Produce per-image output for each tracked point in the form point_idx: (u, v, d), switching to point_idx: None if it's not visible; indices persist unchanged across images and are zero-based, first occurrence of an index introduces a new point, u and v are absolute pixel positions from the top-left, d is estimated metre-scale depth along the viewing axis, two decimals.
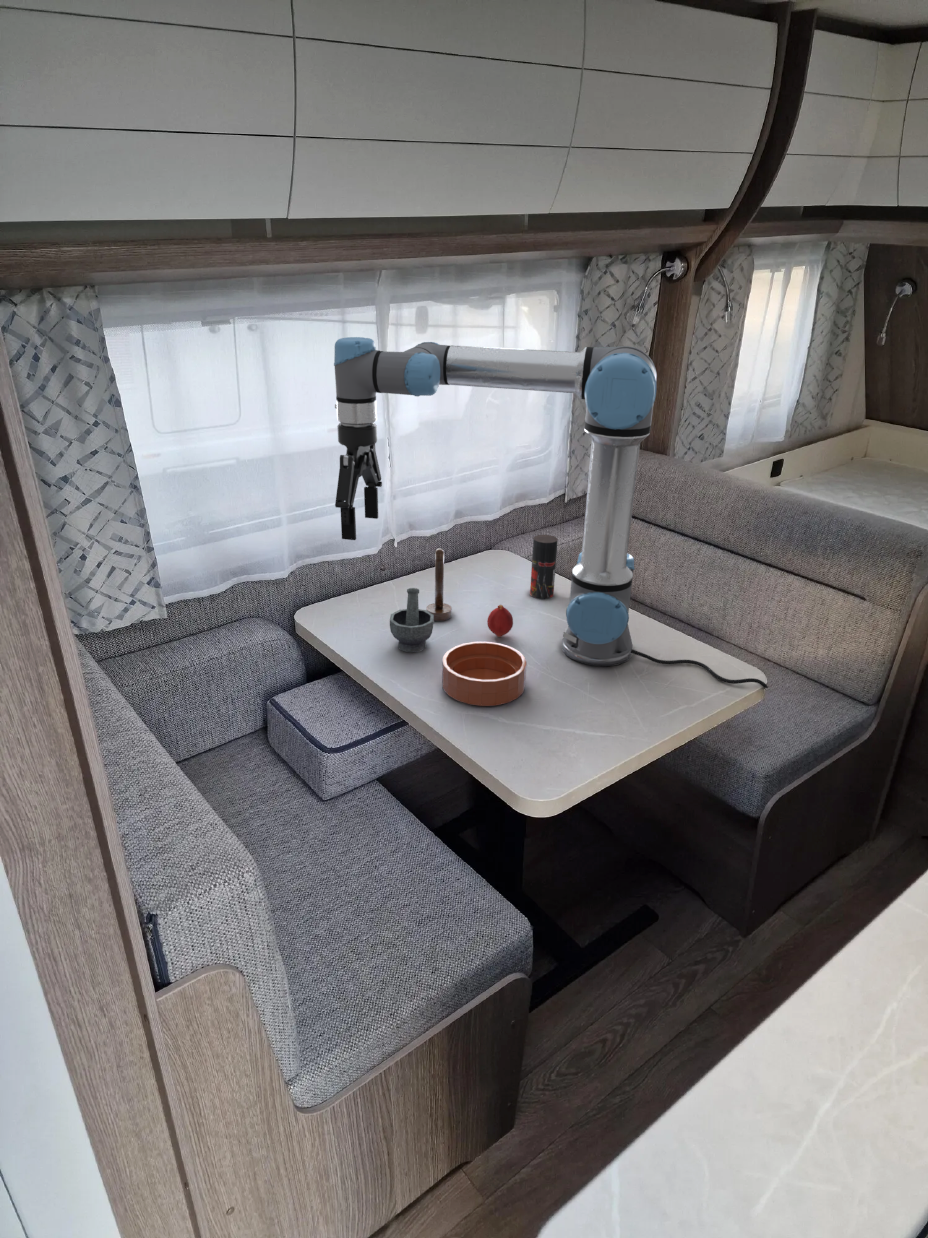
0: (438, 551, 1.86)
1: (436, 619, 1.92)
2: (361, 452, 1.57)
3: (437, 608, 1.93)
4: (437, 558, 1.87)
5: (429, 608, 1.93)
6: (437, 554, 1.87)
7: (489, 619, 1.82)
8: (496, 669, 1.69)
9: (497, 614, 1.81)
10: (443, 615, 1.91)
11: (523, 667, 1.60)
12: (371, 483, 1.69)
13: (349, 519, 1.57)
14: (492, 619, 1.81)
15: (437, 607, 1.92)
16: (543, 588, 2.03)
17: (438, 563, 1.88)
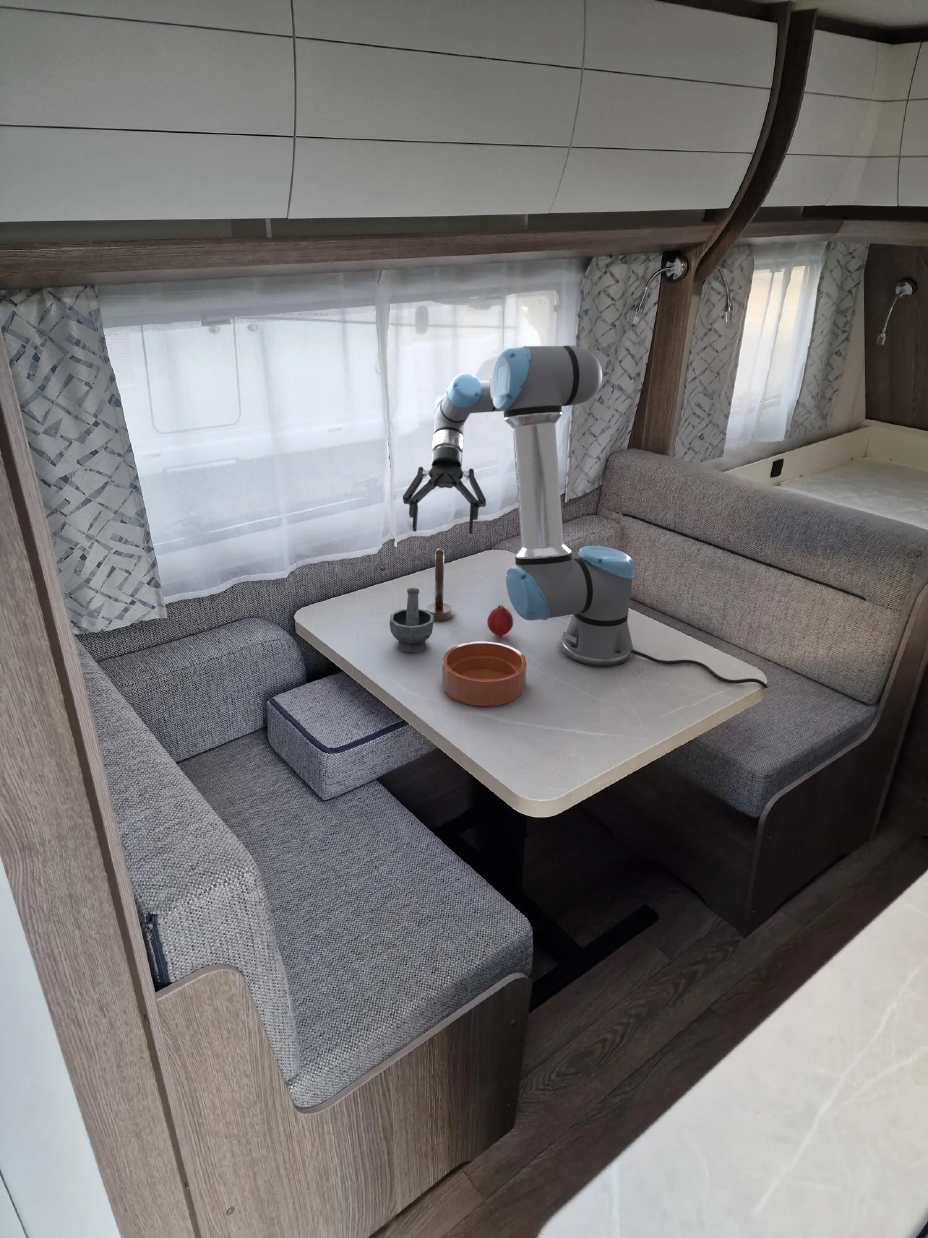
0: (438, 551, 1.86)
1: (436, 619, 1.92)
2: (440, 469, 2.00)
3: (437, 608, 1.93)
4: (437, 558, 1.87)
5: (429, 608, 1.93)
6: (437, 554, 1.87)
7: (489, 619, 1.82)
8: (496, 669, 1.69)
9: (497, 614, 1.81)
10: (443, 615, 1.91)
11: (523, 667, 1.60)
12: None
13: (410, 511, 1.97)
14: (492, 619, 1.81)
15: (437, 607, 1.92)
16: None
17: (438, 563, 1.88)
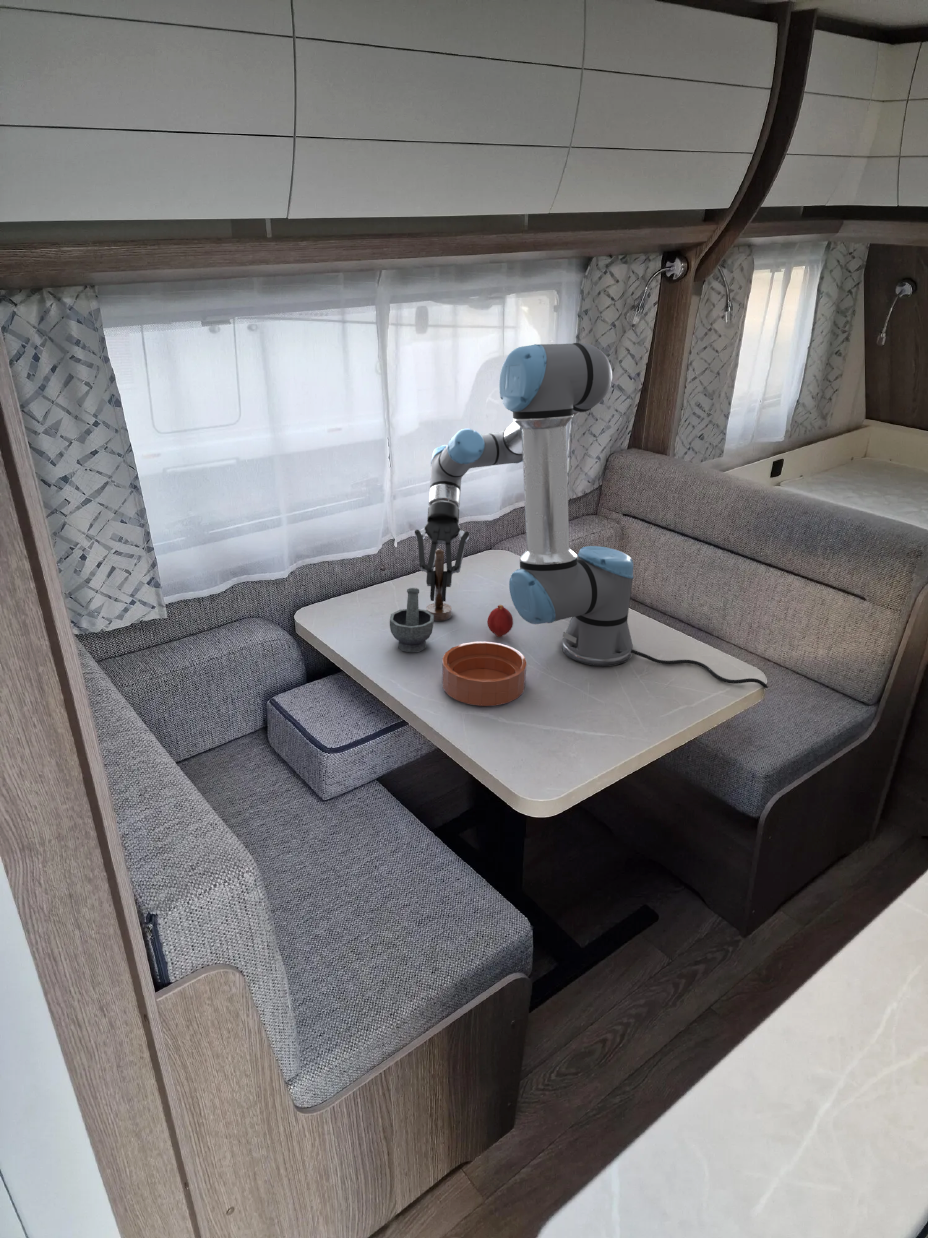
0: (438, 551, 1.86)
1: (436, 619, 1.92)
2: (437, 525, 1.93)
3: (437, 608, 1.93)
4: (437, 558, 1.87)
5: (429, 608, 1.93)
6: (437, 554, 1.87)
7: (489, 619, 1.82)
8: (496, 669, 1.69)
9: (497, 614, 1.81)
10: (443, 615, 1.91)
11: (523, 667, 1.60)
12: None
13: (428, 579, 1.89)
14: (492, 619, 1.81)
15: (437, 607, 1.92)
16: None
17: (438, 563, 1.88)
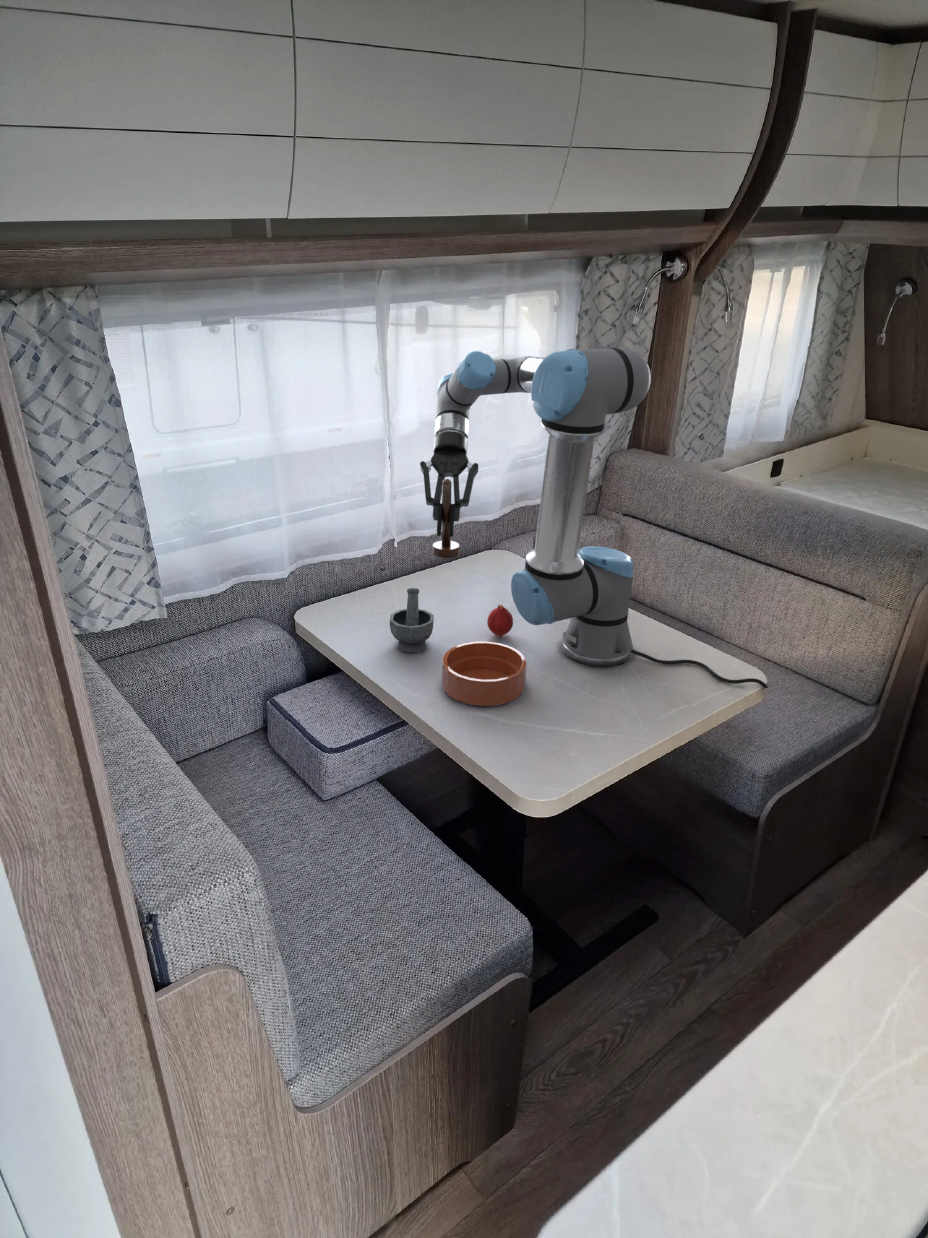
0: (445, 481, 1.74)
1: (443, 556, 1.79)
2: (443, 456, 1.81)
3: (444, 545, 1.80)
4: (444, 489, 1.75)
5: (436, 545, 1.81)
6: (445, 485, 1.74)
7: (489, 619, 1.82)
8: (496, 669, 1.69)
9: (497, 614, 1.81)
10: (451, 552, 1.79)
11: (523, 667, 1.60)
12: None
13: (434, 513, 1.77)
14: (492, 619, 1.81)
15: (444, 544, 1.80)
16: None
17: (445, 494, 1.75)
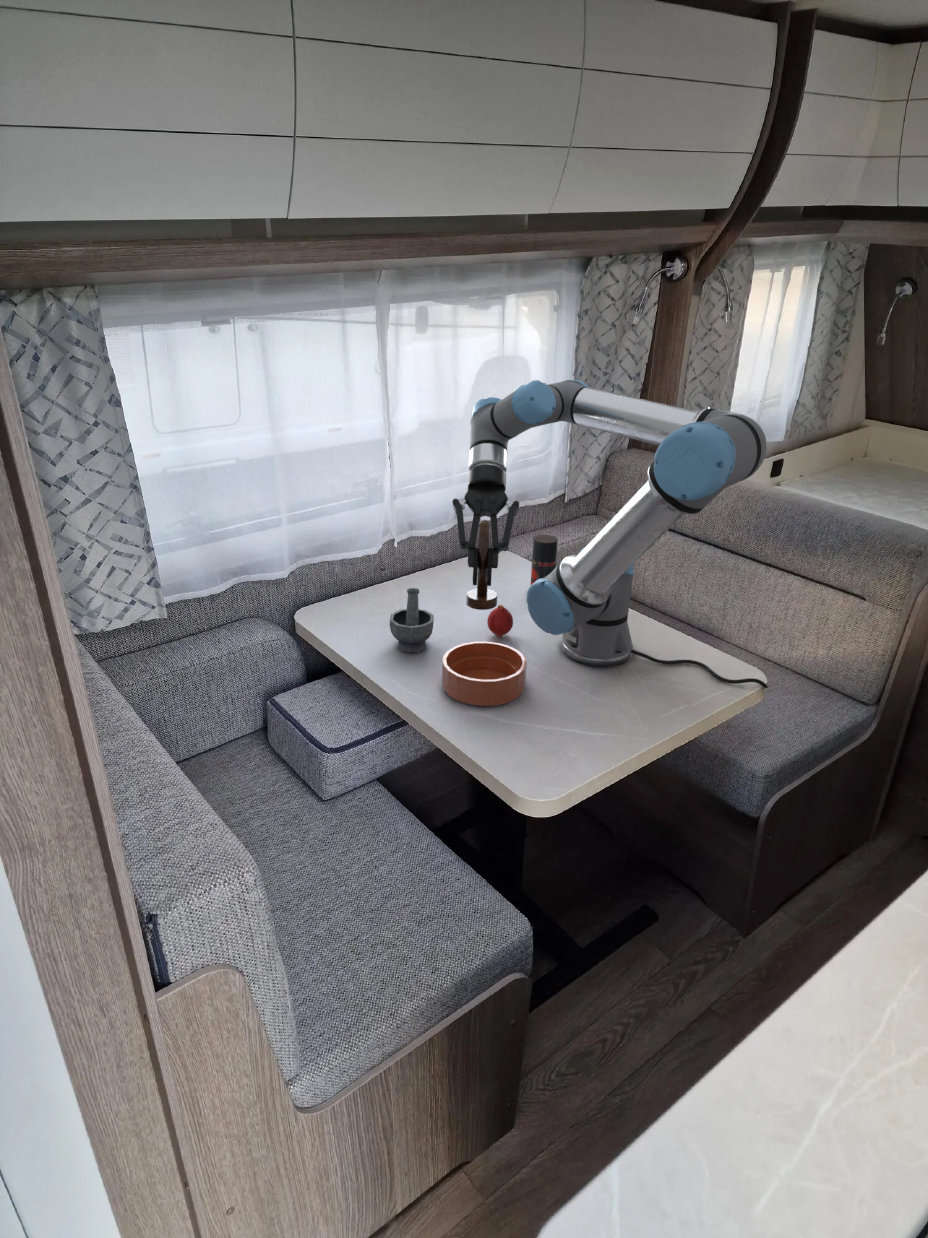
0: (483, 524, 1.52)
1: (479, 608, 1.57)
2: (479, 493, 1.58)
3: (480, 594, 1.58)
4: (481, 532, 1.52)
5: (470, 595, 1.58)
6: (482, 527, 1.52)
7: (489, 619, 1.82)
8: (496, 669, 1.69)
9: (497, 614, 1.81)
10: (488, 603, 1.56)
11: (523, 667, 1.60)
12: None
13: (469, 559, 1.54)
14: (492, 619, 1.81)
15: (480, 593, 1.58)
16: None
17: (482, 538, 1.53)
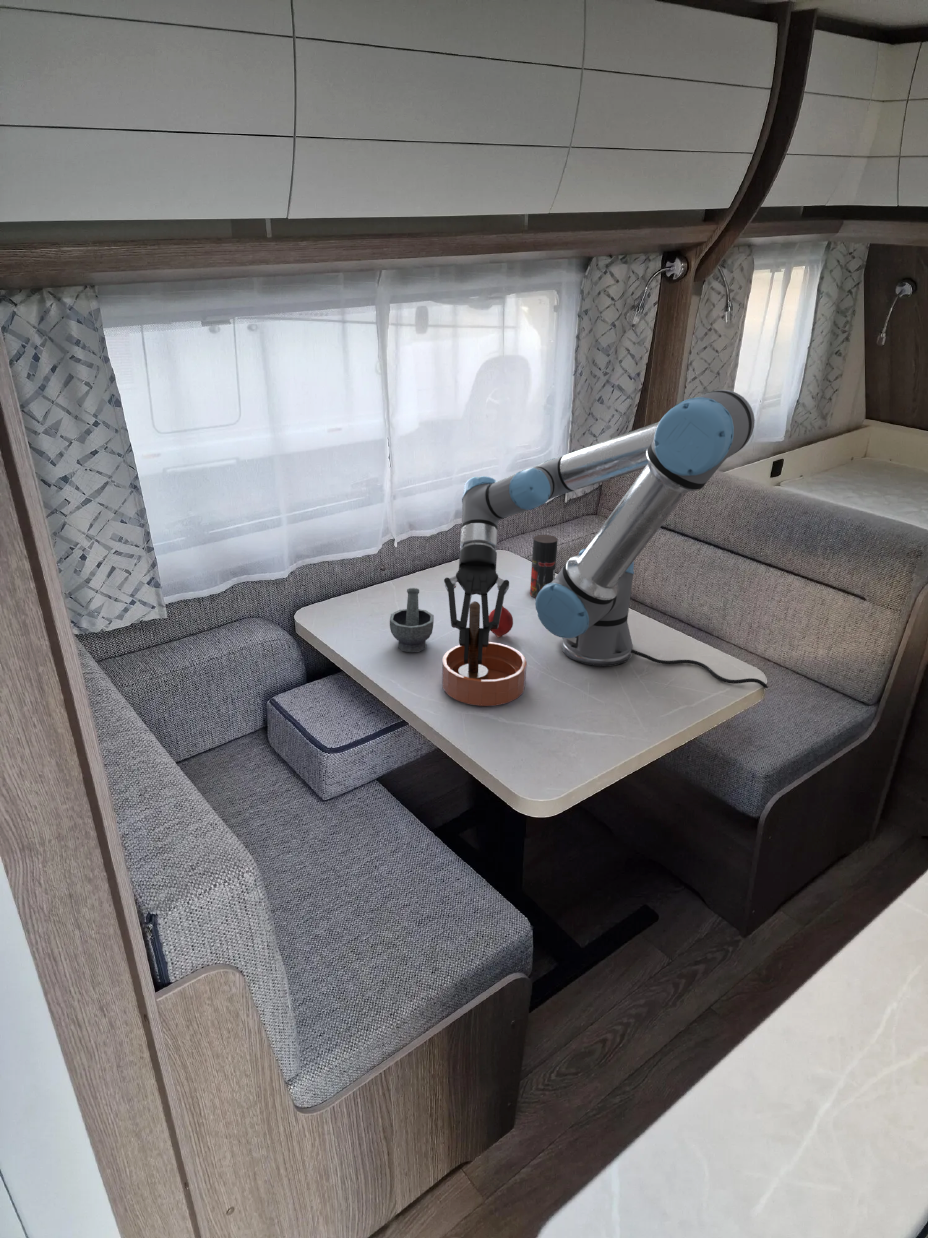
0: (473, 605, 1.56)
1: None
2: (470, 572, 1.62)
3: (471, 671, 1.62)
4: (472, 613, 1.56)
5: (462, 671, 1.62)
6: (473, 609, 1.56)
7: (489, 619, 1.82)
8: (496, 669, 1.69)
9: None
10: None
11: (523, 667, 1.60)
12: None
13: (461, 638, 1.58)
14: (492, 619, 1.81)
15: (471, 670, 1.61)
16: None
17: (473, 619, 1.57)
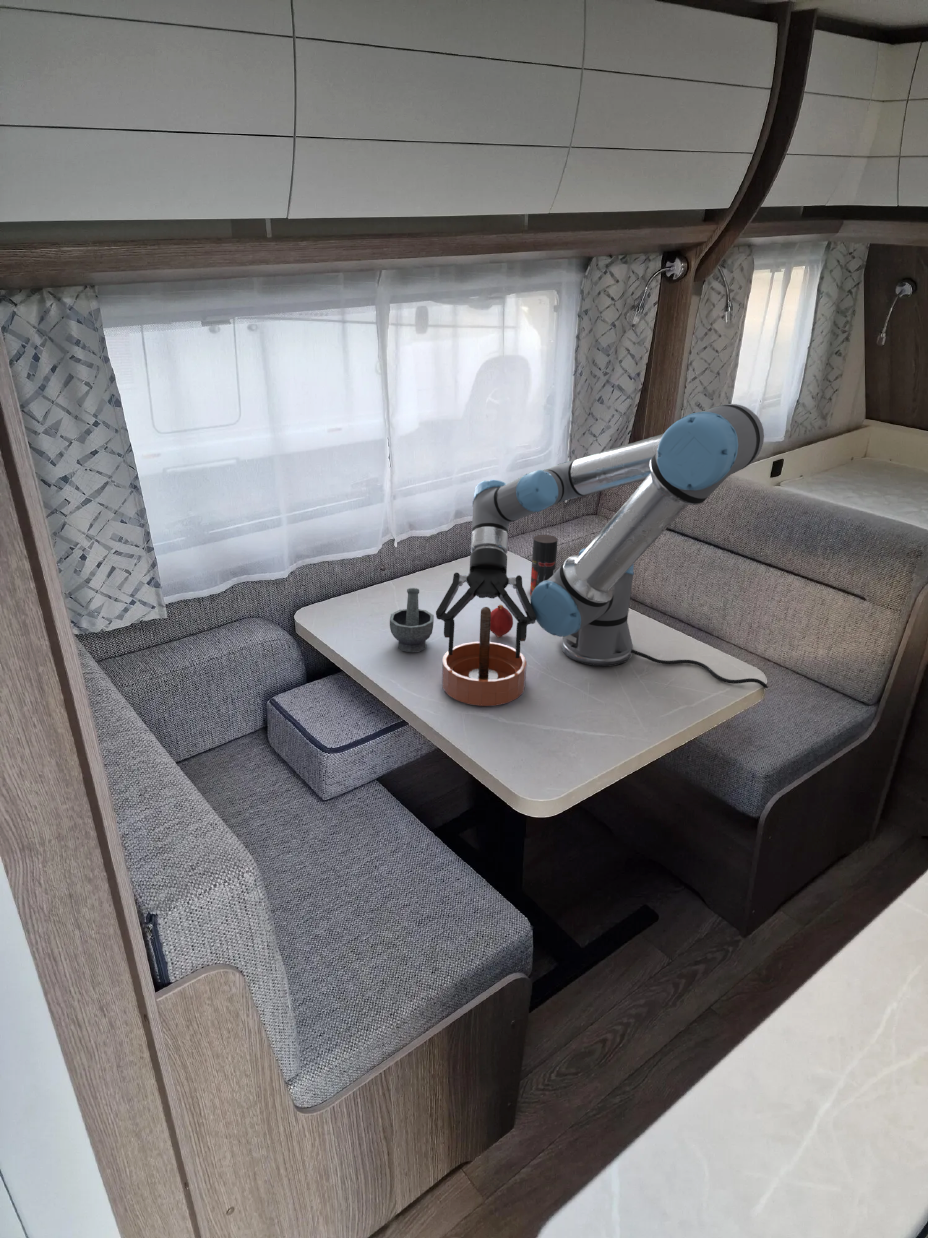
0: (484, 611, 1.57)
1: None
2: (481, 575, 1.63)
3: (481, 676, 1.63)
4: (483, 618, 1.57)
5: (472, 676, 1.63)
6: (484, 614, 1.57)
7: None
8: (496, 669, 1.69)
9: (497, 614, 1.81)
10: None
11: (523, 667, 1.60)
12: (520, 620, 1.61)
13: (445, 630, 1.60)
14: (492, 619, 1.81)
15: (481, 675, 1.63)
16: None
17: (484, 624, 1.58)
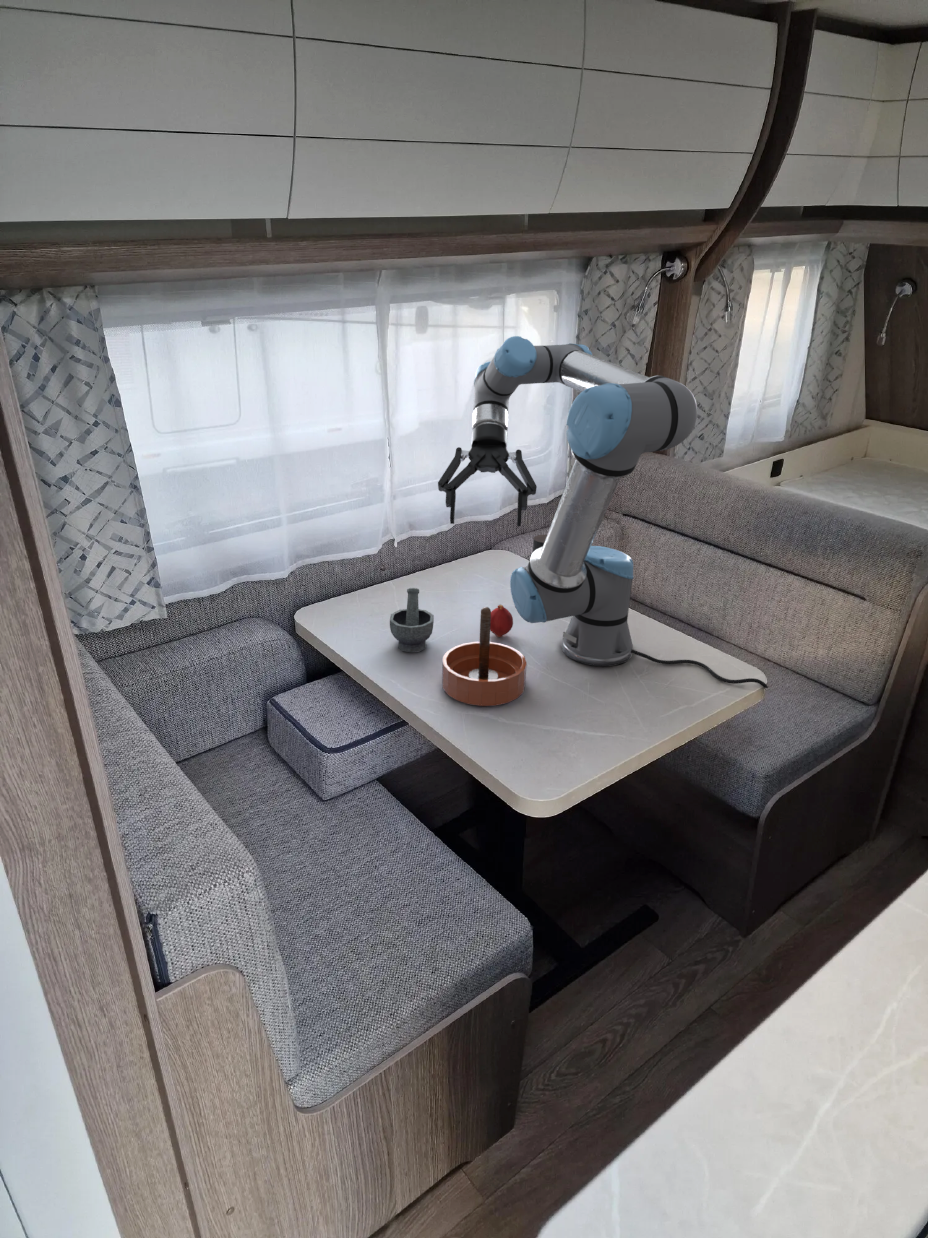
0: (484, 611, 1.57)
1: None
2: (482, 450, 1.70)
3: (481, 676, 1.63)
4: (483, 618, 1.57)
5: (472, 676, 1.63)
6: (484, 614, 1.57)
7: None
8: (496, 669, 1.69)
9: (497, 614, 1.81)
10: None
11: (523, 667, 1.60)
12: (521, 491, 1.68)
13: (447, 499, 1.67)
14: (492, 619, 1.81)
15: (481, 675, 1.63)
16: None
17: (484, 624, 1.58)
